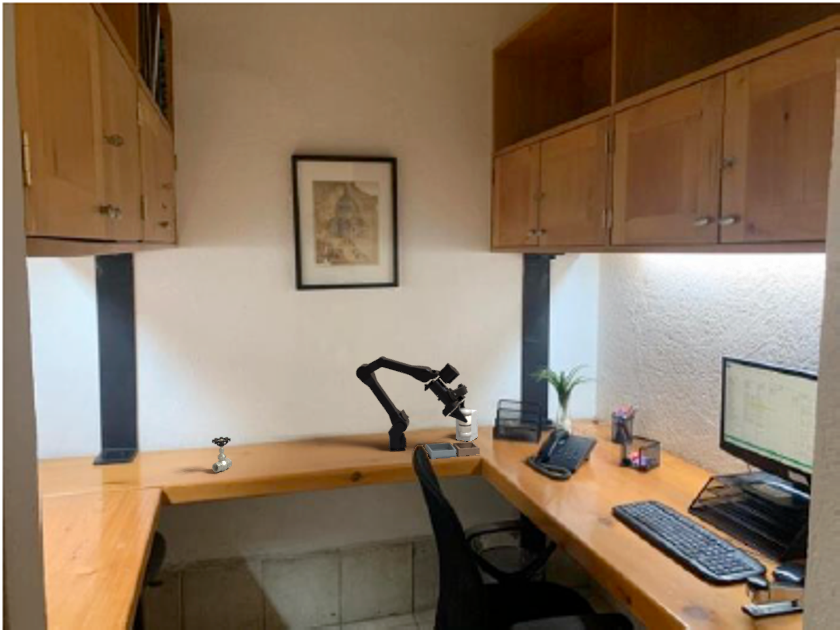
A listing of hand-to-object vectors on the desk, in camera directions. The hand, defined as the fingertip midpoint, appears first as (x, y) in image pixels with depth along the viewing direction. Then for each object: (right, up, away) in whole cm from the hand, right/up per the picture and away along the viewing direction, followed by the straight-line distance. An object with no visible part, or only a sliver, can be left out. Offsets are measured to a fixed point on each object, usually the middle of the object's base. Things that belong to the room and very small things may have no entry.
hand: (468, 420), depth 256 cm
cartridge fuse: (-1, -7, +1) cm, 7 cm away
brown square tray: (-1, -13, +2) cm, 13 cm away
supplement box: (+1, -12, +20) cm, 24 cm away
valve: (-93, -16, -19) cm, 96 cm away
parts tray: (-11, -14, 0) cm, 18 cm away
